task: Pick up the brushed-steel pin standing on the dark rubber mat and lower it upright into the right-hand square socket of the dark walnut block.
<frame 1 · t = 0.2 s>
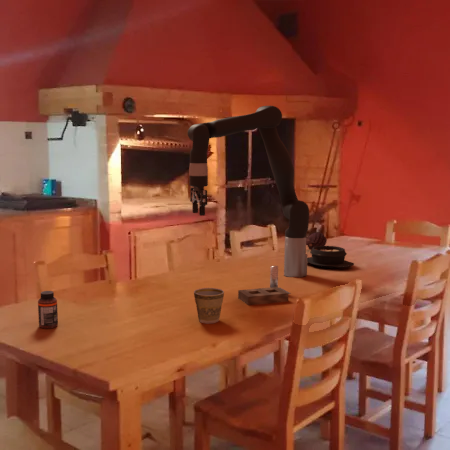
hand: (198, 214, 259), 29 cm above the table, tool pointing down, fingers open, 8 cm apart
socket block: (263, 300, 237), on the table
mat: (273, 292, 249), on the table
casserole: (327, 266, 299), on the table
pin: (273, 291, 249), resting on mat
ceramic cup: (211, 320, 213), on the table
supplement bottle: (48, 326, 204), on the table
pine cone: (316, 251, 336), on the table
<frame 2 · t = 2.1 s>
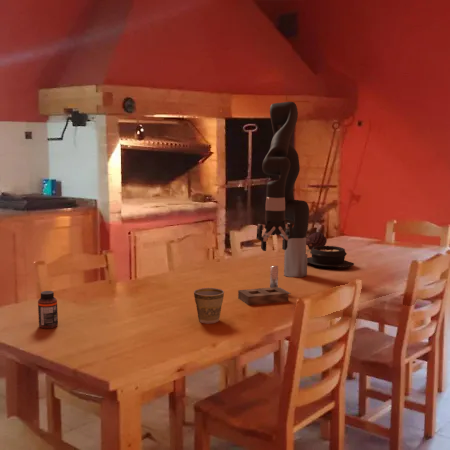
hand: (274, 250, 247), 17 cm above the table, tool pointing down, fingers open, 8 cm apart
nothing on the table moved.
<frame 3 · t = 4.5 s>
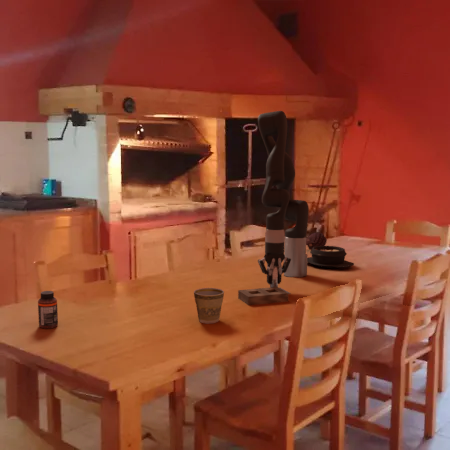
hand: (273, 283, 249), 4 cm above the table, tool pointing down, fingers closed on pin, 3 cm apart
pin: (273, 291, 249), resting on mat, touching gripper
everything else where it was.
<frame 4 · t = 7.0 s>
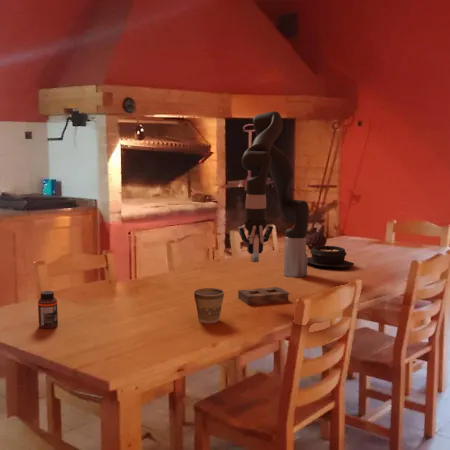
hand: (255, 253, 233), 18 cm above the table, tool pointing down, fingers closed on pin, 3 cm apart
pin: (254, 261, 233), point 15 cm above the table, touching gripper
everything else where it was.
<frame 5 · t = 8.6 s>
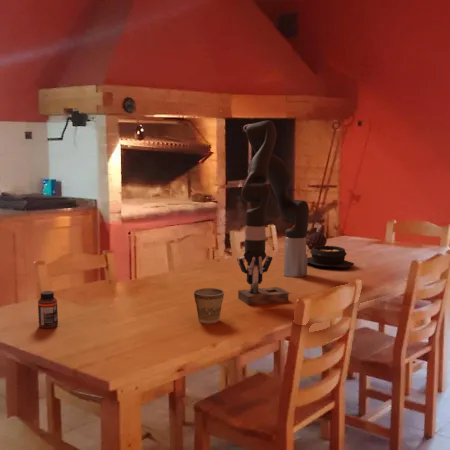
hand: (254, 283, 235), 7 cm above the table, tool pointing down, fingers closed on pin, 3 cm apart
pin: (254, 291, 235), point 4 cm above the table, touching gripper
everything else where it was.
when the fingers open (5 cm above the table, at t = 10.0 s): pin drops 1 cm, resting in socket block.
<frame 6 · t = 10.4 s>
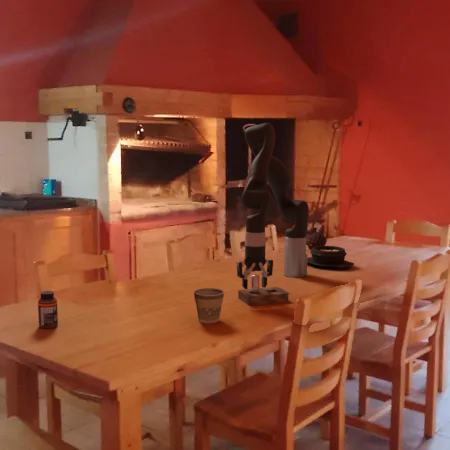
hand: (254, 287, 235), 5 cm above the table, tool pointing down, fingers open, 6 cm apart
pin: (254, 301, 236), resting in socket block
everything else where it was.
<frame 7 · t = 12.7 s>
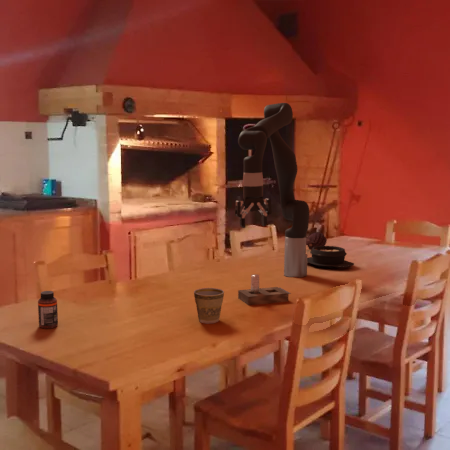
hand: (253, 226, 242), 27 cm above the table, tool pointing down, fingers open, 8 cm apart
nothing on the table moved.
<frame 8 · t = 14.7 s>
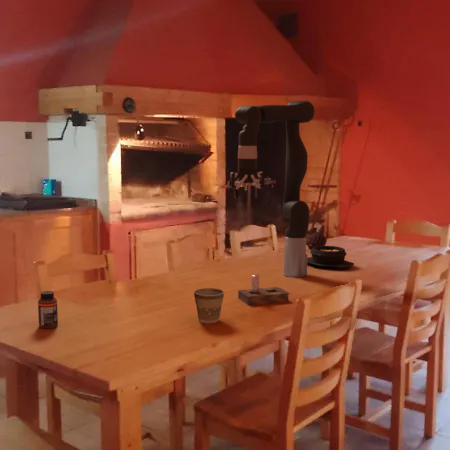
hand: (246, 198, 253), 36 cm above the table, tool pointing down, fingers open, 8 cm apart
nothing on the table moved.
at the end: pin 0.2 cm from the target spot on the socket block, point 0.0 cm above the socket block's base; pin tilted 0°; the gripper is holding nothing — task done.
